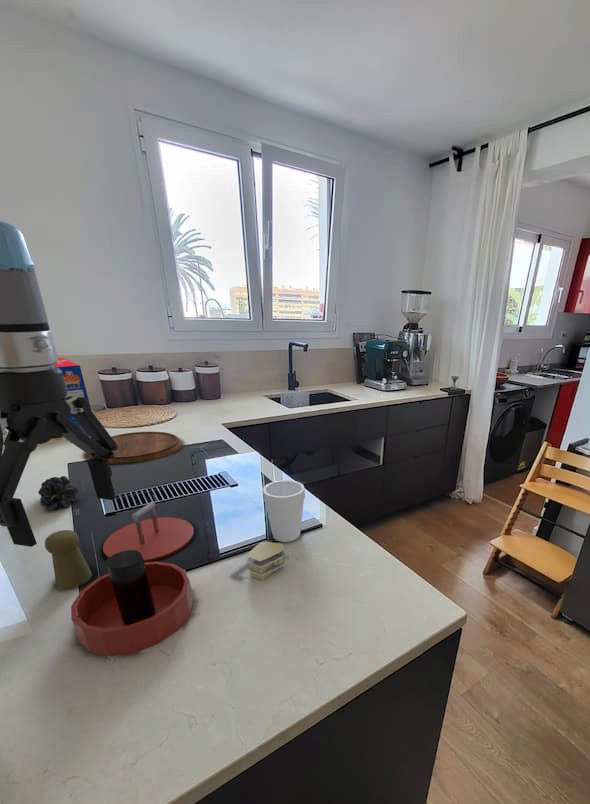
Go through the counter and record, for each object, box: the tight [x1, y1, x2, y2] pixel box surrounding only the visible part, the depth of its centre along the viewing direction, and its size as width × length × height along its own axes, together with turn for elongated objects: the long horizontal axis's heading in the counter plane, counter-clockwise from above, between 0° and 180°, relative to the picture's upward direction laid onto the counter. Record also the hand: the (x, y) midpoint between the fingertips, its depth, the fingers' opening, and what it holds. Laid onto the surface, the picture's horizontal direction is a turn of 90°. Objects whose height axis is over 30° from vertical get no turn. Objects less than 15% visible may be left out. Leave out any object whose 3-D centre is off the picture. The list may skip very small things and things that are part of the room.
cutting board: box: [84, 431, 183, 465], centre depth 147 cm, size 32×32×2 cm
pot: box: [70, 561, 194, 657], centre depth 68 cm, size 18×18×6 cm
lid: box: [102, 501, 195, 563], centre depth 90 cm, size 19×19×9 cm
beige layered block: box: [245, 541, 286, 581], centre depth 81 cm, size 10×9×6 cm
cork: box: [44, 529, 93, 590], centre depth 76 cm, size 6×6×11 cm
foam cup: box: [262, 479, 306, 543], centre depth 92 cm, size 10×9×13 cm
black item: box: [105, 550, 155, 625], centre depth 67 cm, size 5×5×12 cm
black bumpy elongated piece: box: [37, 475, 79, 511], centre depth 106 cm, size 9×8×15 cm
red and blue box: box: [54, 357, 92, 436], centre depth 162 cm, size 28×8×28 cm, turn 46°
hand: (70, 518), depth 57 cm, fingers open, 13 cm apart
